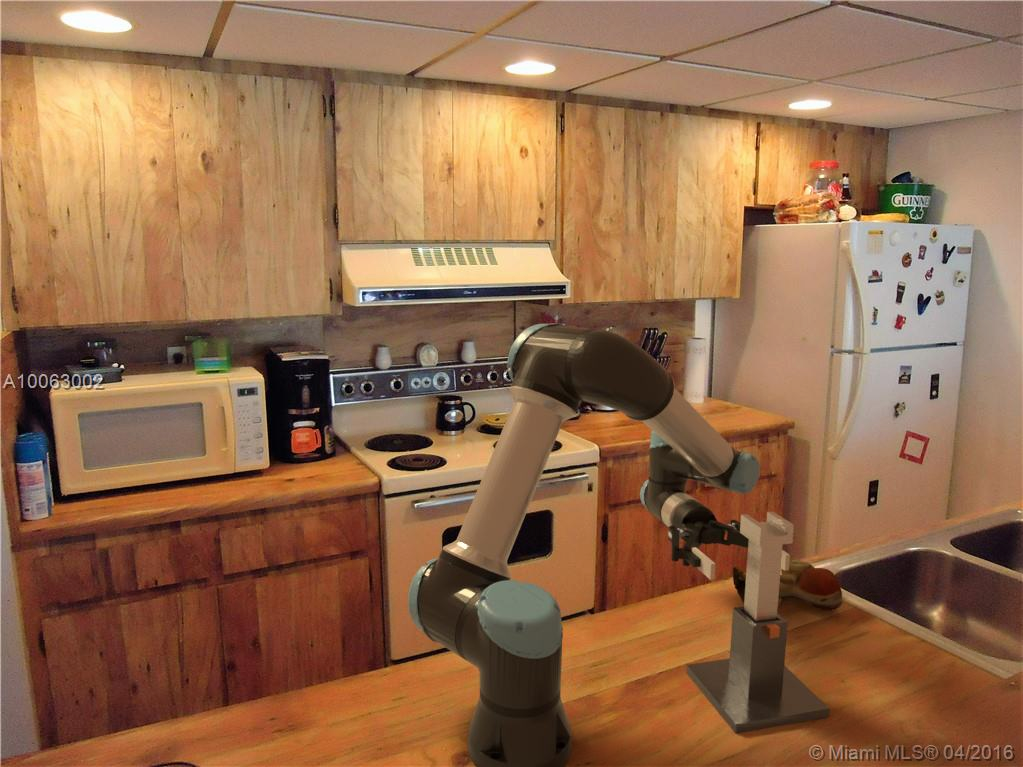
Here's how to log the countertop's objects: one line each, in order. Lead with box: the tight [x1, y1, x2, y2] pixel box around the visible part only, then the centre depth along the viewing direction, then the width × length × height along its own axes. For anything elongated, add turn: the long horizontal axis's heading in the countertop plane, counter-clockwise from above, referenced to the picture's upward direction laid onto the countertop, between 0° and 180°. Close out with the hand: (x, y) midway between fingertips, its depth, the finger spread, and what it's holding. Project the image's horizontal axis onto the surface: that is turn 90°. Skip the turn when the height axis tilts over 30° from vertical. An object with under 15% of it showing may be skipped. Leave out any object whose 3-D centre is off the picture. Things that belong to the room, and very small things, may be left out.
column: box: [740, 511, 795, 623], centre depth 118 cm, size 6×6×28 cm
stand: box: [685, 605, 830, 734], centre depth 119 cm, size 16×16×14 cm
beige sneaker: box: [732, 557, 844, 611], centre depth 149 cm, size 15×9×20 cm
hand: (750, 567), depth 121 cm, fingers open, 13 cm apart
